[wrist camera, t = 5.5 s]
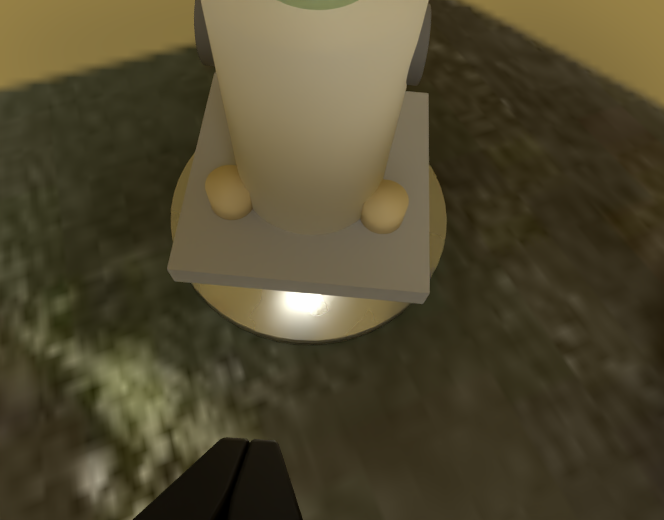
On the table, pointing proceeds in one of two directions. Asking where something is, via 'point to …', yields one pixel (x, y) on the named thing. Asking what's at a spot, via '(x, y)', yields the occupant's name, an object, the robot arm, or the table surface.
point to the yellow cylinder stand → (310, 150)
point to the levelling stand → (309, 309)
